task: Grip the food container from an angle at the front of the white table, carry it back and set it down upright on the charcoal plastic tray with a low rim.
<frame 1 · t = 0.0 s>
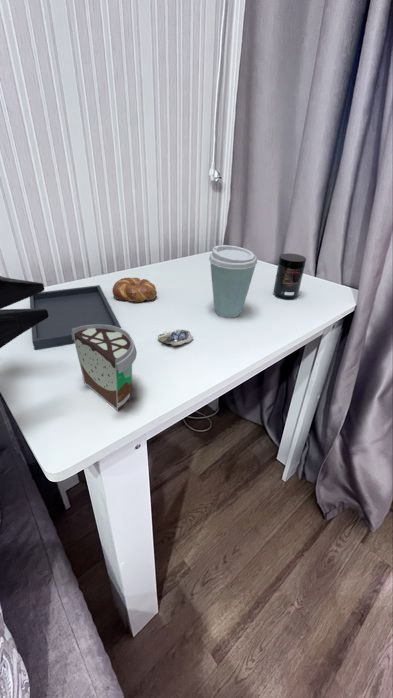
hand: (45, 298, 46), 16 cm above the table, tool horizontal, fingers open, 9 cm apart
tray: (72, 316, 75), on the table
supplement container: (285, 295, 90), on the table
food container: (116, 389, 55), on the table
crystal geode: (176, 339, 69), on the table
disposable coffee cup: (227, 313, 80), on the table
pretzel: (135, 295, 86), on the table
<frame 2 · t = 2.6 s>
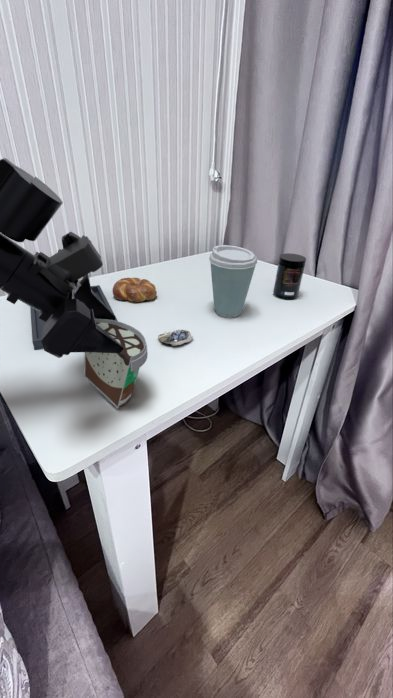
hand: (117, 334, 49), 10 cm above the table, tool tilted 45°, fingers open, 9 cm apart
food container: (116, 387, 54), on the table, touching gripper
everything else where it was.
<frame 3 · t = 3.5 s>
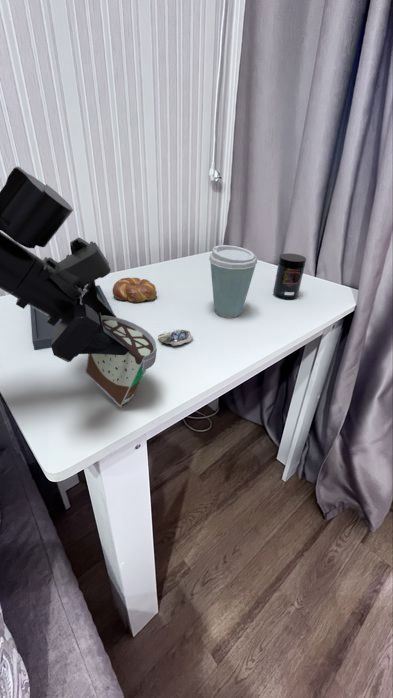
hand: (123, 337, 50), 9 cm above the table, tool tilted 45°, fingers closed on food container, 8 cm apart
food container: (117, 385, 54), point 1 cm above the table, touching gripper
everything else where it was.
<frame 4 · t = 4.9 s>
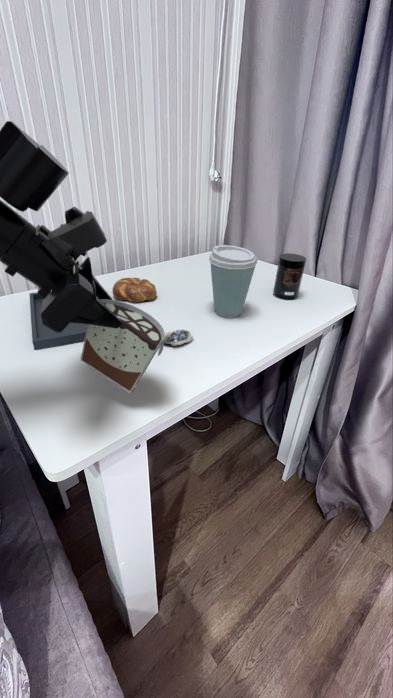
hand: (117, 316, 48), 13 cm above the table, tool tilted 45°, fingers closed on food container, 5 cm apart
food container: (115, 370, 52), point 4 cm above the table, touching gripper
everything else where it was.
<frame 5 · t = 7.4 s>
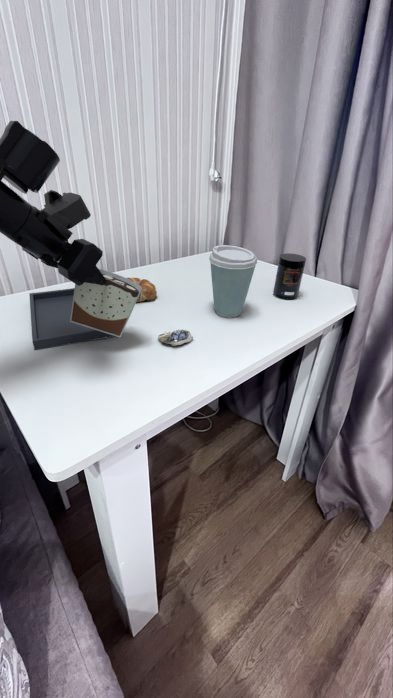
hand: (96, 278, 59), 13 cm above the table, tool tilted 45°, fingers closed on food container, 5 cm apart
food container: (98, 326, 64), point 4 cm above the table, touching gripper
everything else where it was.
when the fingers open (11 cm above the table, at t = 10.6 s): food container drops 1 cm, resting on tray.
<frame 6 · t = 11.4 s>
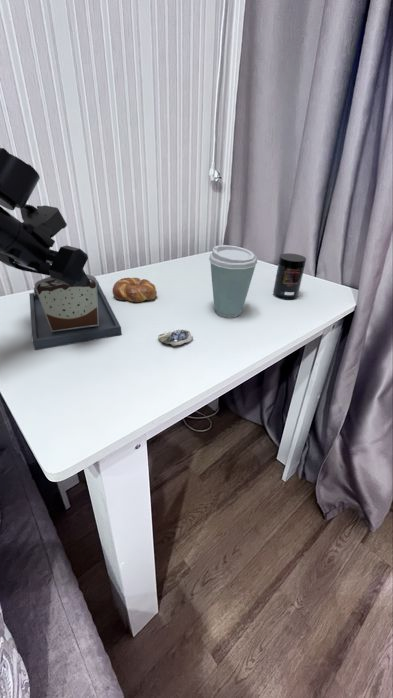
hand: (72, 279, 67), 10 cm above the table, tool tilted 45°, fingers open, 9 cm apart
food container: (75, 323, 71), resting on tray, touching gripper
everything else where it was.
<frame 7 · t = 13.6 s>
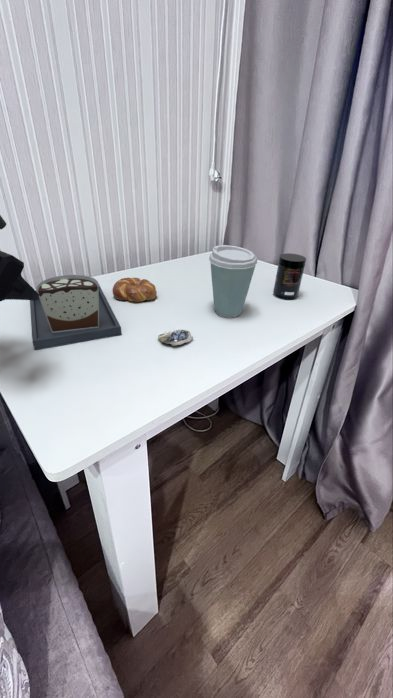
hand: (21, 290, 56), 12 cm above the table, tool tilted 45°, fingers open, 9 cm apart
food container: (75, 324, 71), resting on tray
everything else where it was.
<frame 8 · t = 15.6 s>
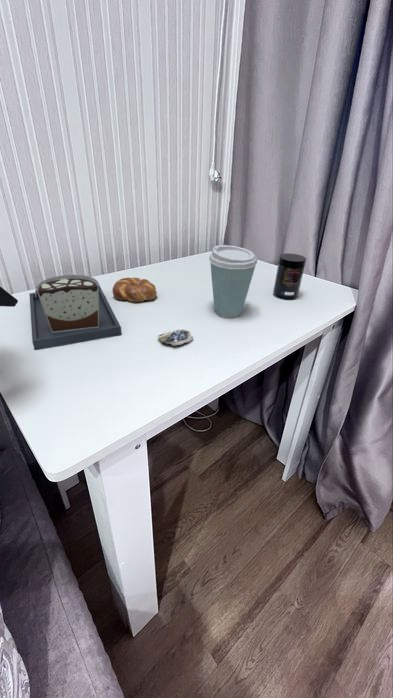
hand: (2, 294, 51), 14 cm above the table, tool tilted 45°, fingers open, 9 cm apart
nothing on the table moved.
at the end: food container inside the target area in the tray (4.6 cm from its centre), point 0.3 cm above the tray's base; the gripper is holding nothing; food container tilted 0° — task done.
